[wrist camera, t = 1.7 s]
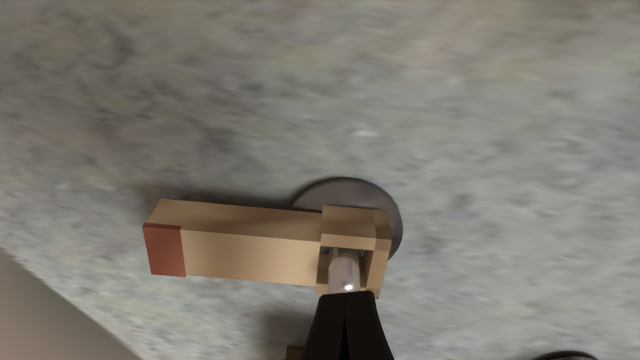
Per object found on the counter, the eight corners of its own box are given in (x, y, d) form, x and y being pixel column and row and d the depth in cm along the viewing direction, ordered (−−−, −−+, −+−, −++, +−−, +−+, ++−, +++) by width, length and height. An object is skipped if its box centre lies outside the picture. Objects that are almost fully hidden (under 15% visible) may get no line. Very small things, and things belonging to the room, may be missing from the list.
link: (387, 210, 20) (392, 241, 18) (374, 268, 22) (378, 300, 20) (159, 190, 19) (140, 218, 18) (168, 249, 21) (152, 280, 20)
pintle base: (288, 172, 20) (276, 232, 16) (412, 183, 20) (429, 246, 16) (283, 262, 23) (272, 331, 19) (390, 272, 23) (400, 342, 19)
